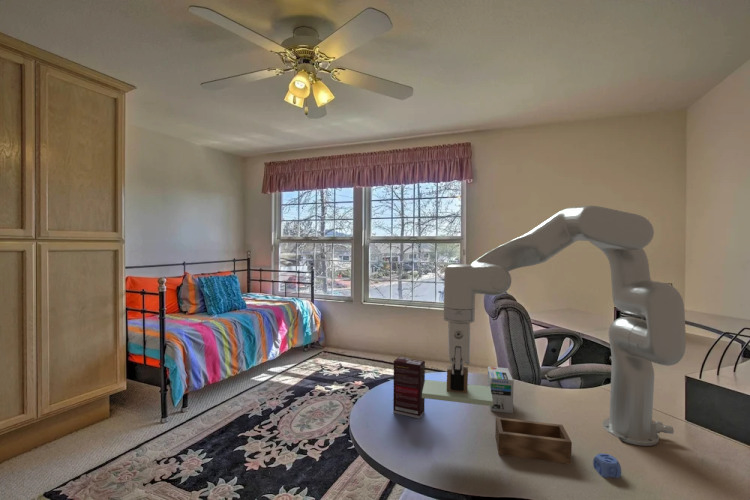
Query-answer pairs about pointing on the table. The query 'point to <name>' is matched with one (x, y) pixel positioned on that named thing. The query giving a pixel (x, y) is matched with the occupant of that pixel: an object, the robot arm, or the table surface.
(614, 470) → the decorative dice
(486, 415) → the table surface
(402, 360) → the supplement box
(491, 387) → the light bulb box
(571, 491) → the table surface
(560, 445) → the keepsake box
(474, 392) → the lid
